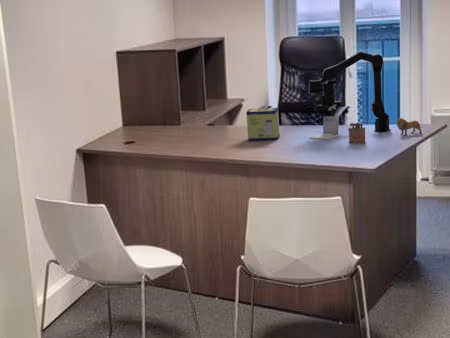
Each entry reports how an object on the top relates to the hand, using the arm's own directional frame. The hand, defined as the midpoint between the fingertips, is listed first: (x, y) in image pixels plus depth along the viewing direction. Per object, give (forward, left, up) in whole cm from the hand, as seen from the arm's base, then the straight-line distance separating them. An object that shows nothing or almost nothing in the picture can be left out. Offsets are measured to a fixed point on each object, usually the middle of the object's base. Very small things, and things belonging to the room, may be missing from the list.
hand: (330, 122), depth 374 cm
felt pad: (-2, +9, -6) cm, 11 cm away
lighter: (-26, +16, -6) cm, 31 cm away
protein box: (+26, +23, -6) cm, 36 cm away
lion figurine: (-39, -12, -6) cm, 41 cm away
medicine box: (0, +1, -5) cm, 5 cm away
